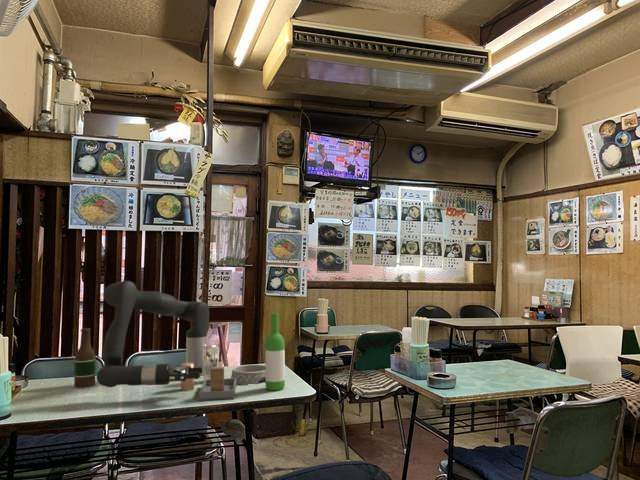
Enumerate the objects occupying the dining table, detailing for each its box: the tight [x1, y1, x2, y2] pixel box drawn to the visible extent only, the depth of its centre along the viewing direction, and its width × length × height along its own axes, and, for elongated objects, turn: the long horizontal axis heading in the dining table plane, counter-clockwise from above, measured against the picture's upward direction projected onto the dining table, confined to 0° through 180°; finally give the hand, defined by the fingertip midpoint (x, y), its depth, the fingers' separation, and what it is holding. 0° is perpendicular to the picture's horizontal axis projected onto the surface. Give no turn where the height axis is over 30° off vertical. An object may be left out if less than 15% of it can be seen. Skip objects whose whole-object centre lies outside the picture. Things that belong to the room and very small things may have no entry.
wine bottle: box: [264, 312, 286, 392], centre depth 186 cm, size 8×8×30 cm
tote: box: [198, 377, 237, 401], centre depth 180 cm, size 21×13×3 cm, turn 8°
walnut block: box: [211, 366, 225, 391], centre depth 175 cm, size 4×4×10 cm
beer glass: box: [202, 344, 220, 383], centre depth 200 cm, size 7×7×15 cm
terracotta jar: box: [180, 362, 195, 392], centre depth 187 cm, size 5×5×10 cm
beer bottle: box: [73, 327, 96, 389], centre depth 195 cm, size 8×8×24 cm
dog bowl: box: [230, 364, 266, 386], centre depth 202 cm, size 17×18×5 cm
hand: (200, 372), depth 174 cm, fingers open, 8 cm apart
